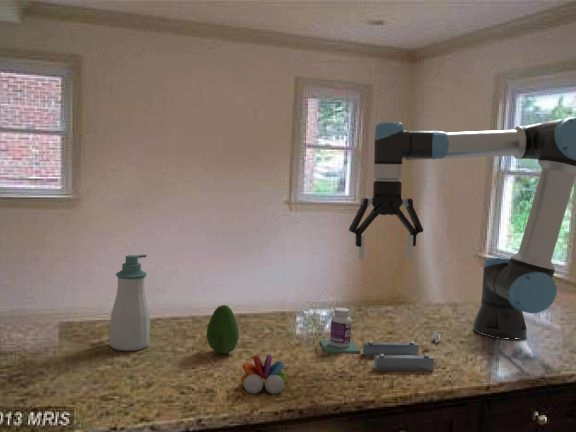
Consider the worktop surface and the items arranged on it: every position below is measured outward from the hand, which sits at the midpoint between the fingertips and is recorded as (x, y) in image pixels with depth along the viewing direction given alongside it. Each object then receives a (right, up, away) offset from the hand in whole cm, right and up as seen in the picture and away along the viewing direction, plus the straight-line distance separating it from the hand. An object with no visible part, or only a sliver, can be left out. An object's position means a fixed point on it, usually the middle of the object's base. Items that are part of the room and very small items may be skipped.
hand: (385, 258), depth 152 cm
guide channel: (0, -25, -14) cm, 28 cm away
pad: (-13, -23, -5) cm, 27 cm away
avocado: (-43, -23, -14) cm, 51 cm away
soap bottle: (-66, -21, -12) cm, 71 cm away
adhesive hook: (+17, -24, +5) cm, 30 cm away
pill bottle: (-13, -23, -5) cm, 26 cm away
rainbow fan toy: (-32, -25, -34) cm, 53 cm away
